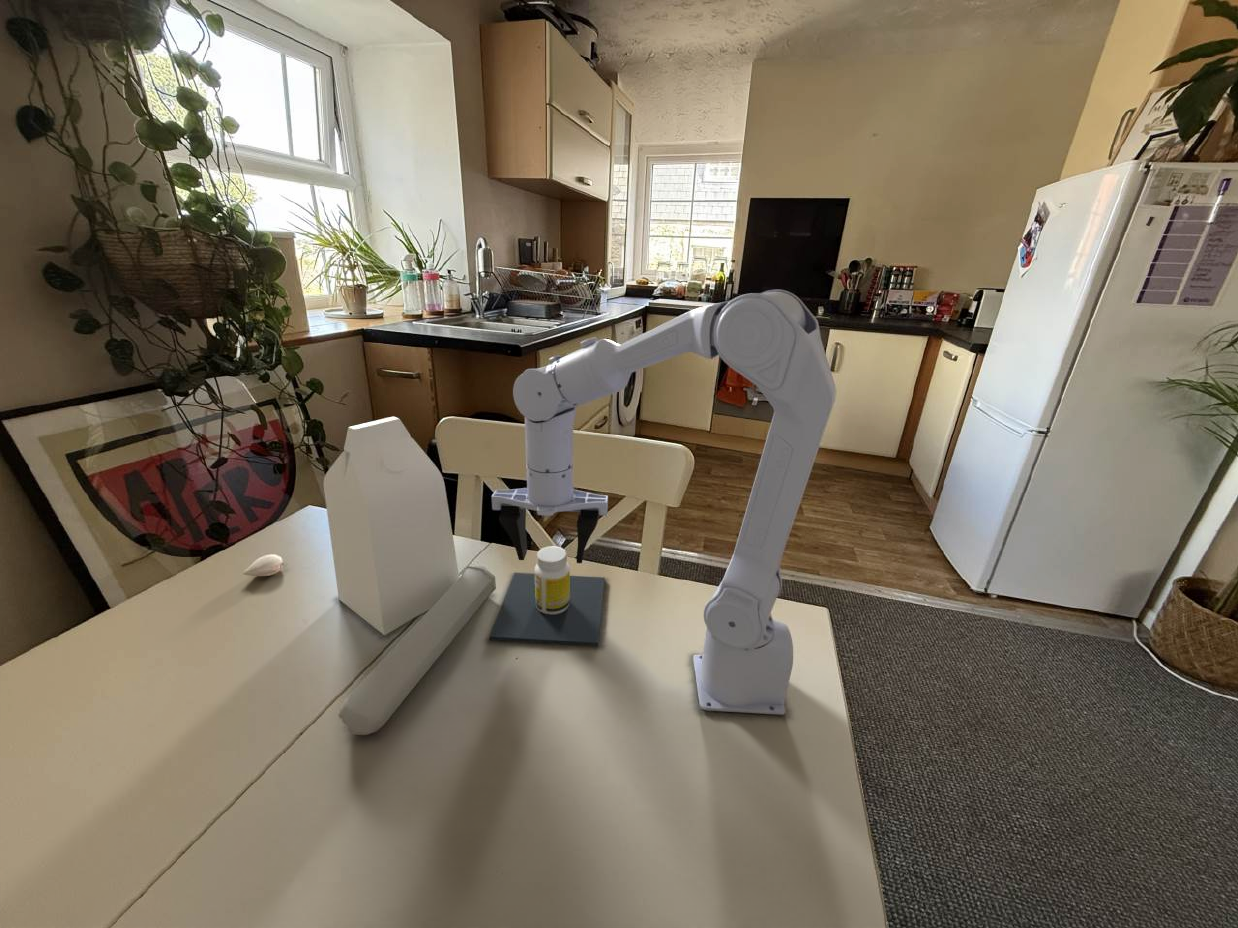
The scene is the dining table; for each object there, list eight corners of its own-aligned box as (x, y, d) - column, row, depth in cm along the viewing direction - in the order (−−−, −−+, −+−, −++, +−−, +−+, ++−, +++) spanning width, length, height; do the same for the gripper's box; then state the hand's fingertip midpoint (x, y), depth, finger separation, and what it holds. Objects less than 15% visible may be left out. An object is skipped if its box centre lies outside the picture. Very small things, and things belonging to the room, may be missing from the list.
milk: (415, 561, 79) (393, 404, 69) (461, 590, 73) (445, 421, 63) (338, 599, 70) (300, 423, 60) (384, 635, 64) (350, 446, 54)
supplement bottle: (575, 600, 71) (576, 550, 68) (558, 619, 67) (558, 567, 64) (547, 590, 73) (546, 541, 69) (528, 608, 69) (526, 557, 65)
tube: (377, 724, 47) (500, 574, 70) (330, 698, 48) (467, 558, 70) (370, 755, 50) (491, 601, 72) (325, 730, 50) (459, 584, 73)
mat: (604, 580, 76) (604, 577, 76) (598, 646, 64) (598, 642, 63) (514, 575, 77) (514, 572, 76) (489, 640, 64) (489, 636, 63)
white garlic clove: (288, 573, 75) (285, 558, 74) (249, 587, 71) (245, 572, 70) (279, 561, 77) (275, 547, 76) (241, 575, 74) (236, 560, 73)
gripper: (481, 473, 57) (489, 572, 63) (606, 480, 57) (603, 578, 62) (497, 451, 64) (503, 542, 69) (610, 457, 64) (606, 548, 69)
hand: (551, 557), depth 66 cm, fingers open, 7 cm apart
